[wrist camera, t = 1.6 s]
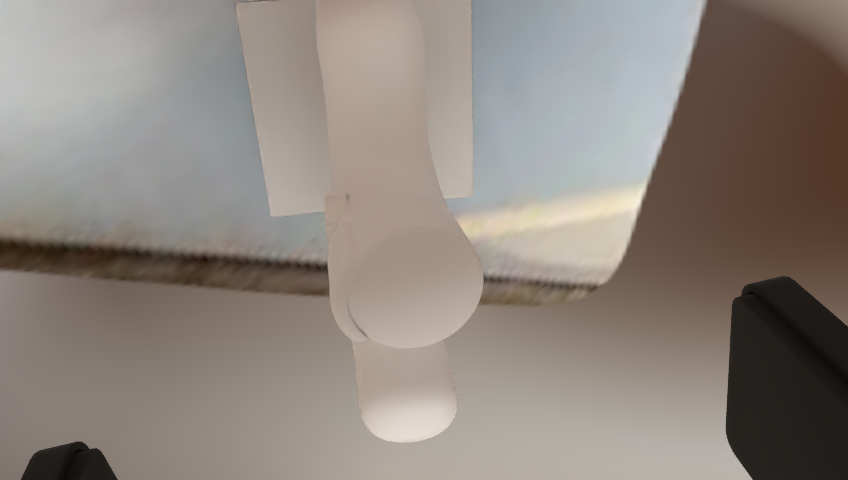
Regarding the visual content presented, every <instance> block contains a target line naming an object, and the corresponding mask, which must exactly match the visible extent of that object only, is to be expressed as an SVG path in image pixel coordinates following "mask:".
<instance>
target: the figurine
mask: <svg viewBox="0 0 848 480" xmlns="http://www.w3.org/2000/svg"><path fill="white" fill-rule="evenodd" d="M235 9H236V15H237V21H238V26H239V32H240V38H241V44H242V50H243V55H244V61H245V67H246V73H247V79H248V84H249V90H250V96H251V102H252V108H253V113H254V119H255V125H256V131H257V137H258V143H259V148H260V154H261V160H262V166H263V172H264V177H265V183H266V189H267V195H268V201H269V206H270V212H271V217H277V216H287V215H296V214H306V213H316V212H325V221H326V223H325V228H326V233H327V239H328V244H329V250H328V274H329V285H330V290H329V291H330V301H331V308H332V312H333V316H334V318H335V321H336V323H337V325H338V326H339V328H340V329H341V330H342V331H343V333H344V334H345V335H346V336H347V337H348V338H349V339H351V340H352V346H353V354H354V362H355V370H356V379H357V389H358V400H359V409H360V413H361V416H362V419H363V422H364V424H365V425H366V427H367V428H368V430H369V431H370V432H372V433H373V434H374V435H375V436H377V437H379V438H381V439H383V440H387V441H391V442H405V443H406V442H415V441H420V440H424V439H428V438H430V437H433V436H435V435H437V434H439V433H441V432H442V431H443V430H445V429H446V428H447V427H448V426H449V425H450V424H451V422H452V421H453V419H454V417H455V415H456V411H457V405H458V399H457V393H456V388H455V384H454V380H453V376H452V373H451V369H450V365H449V361H448V356H447V352H446V347H445V342H444V339H445V338H447V337H448V336H450V335H452V334H453V333H454V332H455V331H457V330H458V329H460V328H461V327H462V326H463V325H464V324H465V323H466V322H467V320H468V319H469V318H470V316H471V315H472V314H473V312H474V311H475V309H476V307H477V305H478V303H479V300H480V297H481V294H482V290H483V281H484V280H483V269H482V265H481V262H480V259H479V257H478V255H477V253H476V251H475V249H474V248H473V246H472V244H471V243H470V241H469V240H468V238H467V236H466V235H465V233H464V232H463V230H462V229H461V227H460V225H459V224H458V222H457V221H456V219H455V218H454V216H453V215H452V214H451V212H450V211H449V210H448V208H447V205H446V203H445V200H444V199H450V198H460V197H469V196H473V102H472V5H471V0H275V1H261V2H247V3H235Z"/></svg>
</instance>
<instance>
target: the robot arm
mask: <svg viewBox="0 0 848 480" xmlns="http://www.w3.org/2000/svg"><path fill="white" fill-rule="evenodd" d="M726 434H727V439H728V442H729V444H730V446H731V449H732V451H733V452H734V454H735V455H736V457H737V458H738V460H739V461H740V462H741V464H742V465H743V467H744V468H745V469H746V471H747V472H748V473H749V475H750V476H751V478H752V479H753V480H848V326H847V325H845V324H844V323H843V322H842V321H841V320H840V319H838V318H837V317H836V316H835V315H834V314H833V313H831V312H830V311H829V310H828V309H827V308H825V307H824V306H823V305H822V304H821V303H820V302H819V301H818V300H816V299H815V298H814V297H813V296H812V295H811V294H809V293H808V292H807V291H806V290H804V288H802V287H801V286H800V285H799V284H798V283H797V282H795V281H794V280H793V279H791V278H790V277H786V276H782V277H777V278H773V279H769V280H764V281H761V282H756V283H752V284H748V285H746V286H745V287H744V288H743V290H742V294H741V296H740V297H737V298H735V299H734V301H733V304H732V317H731V336H730V356H729V375H728V394H727V413H726ZM21 480H117V478H116V476H115V474H114V473H113V471H112V469H111V467H110V466H109V464H108V462H107V460H106V459H105V457H104V455H103V454H102V452H101V451H100V450H98V449H97V448H96V449H89V448H88V446H87V445H86V444H84V443H83V442H74V443H70V444H65V445H61V446H57V447H52V448H48V449H44V450H40V451H38V452H36V453H35V454H34V455H33V457H32V458H31V459H30V462H29V464H28V466H27V468H26V470H25V472H24V474H23V477H22V478H21Z"/></svg>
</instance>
